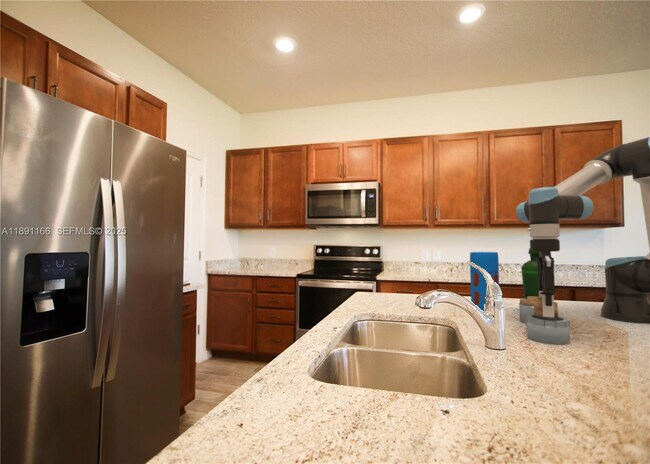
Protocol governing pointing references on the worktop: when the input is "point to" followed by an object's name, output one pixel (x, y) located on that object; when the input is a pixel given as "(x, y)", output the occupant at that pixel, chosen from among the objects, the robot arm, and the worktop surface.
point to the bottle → (530, 275)
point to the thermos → (477, 279)
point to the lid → (539, 308)
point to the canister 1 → (526, 307)
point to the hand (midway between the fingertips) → (546, 314)
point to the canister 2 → (548, 329)
